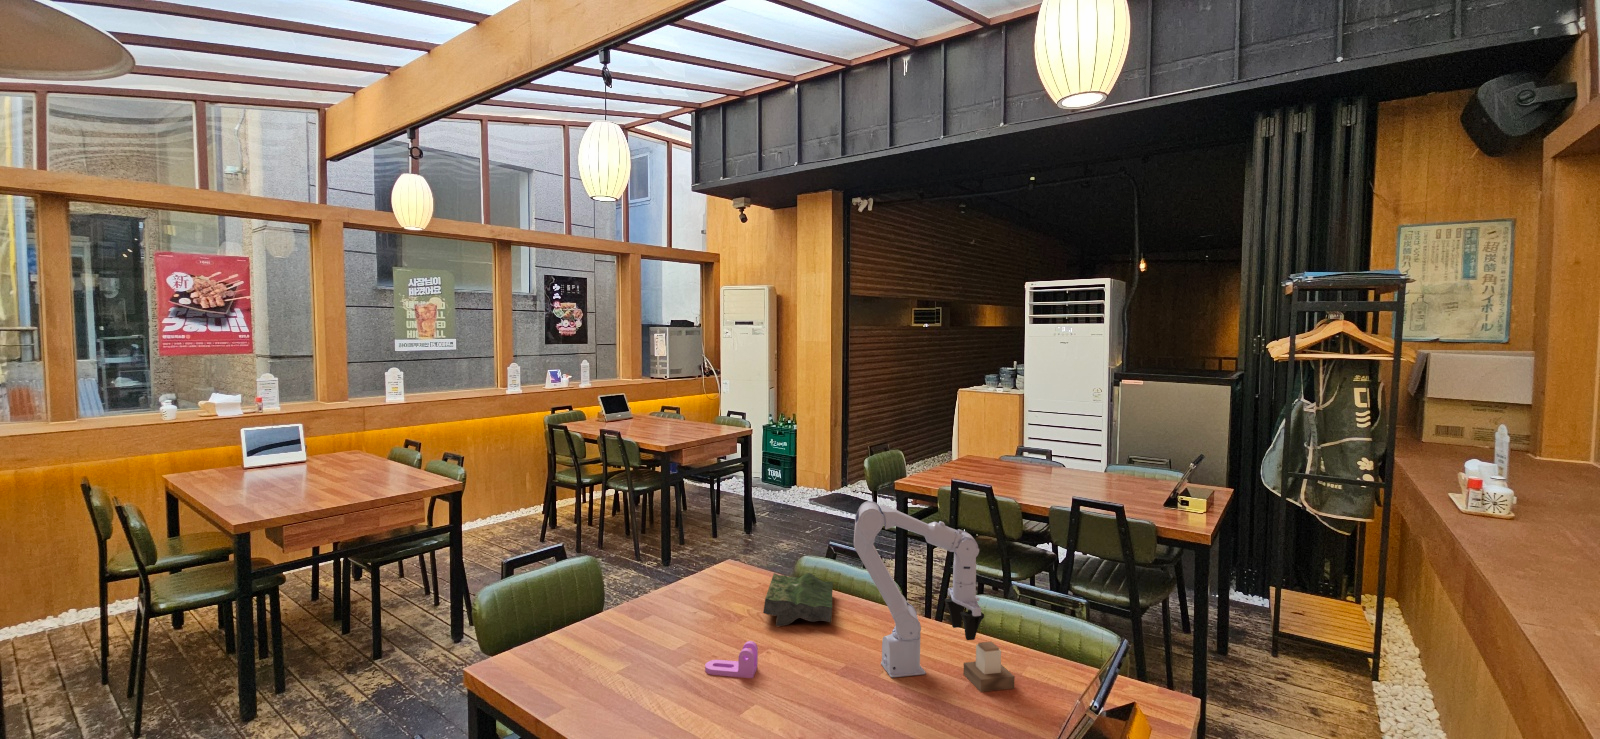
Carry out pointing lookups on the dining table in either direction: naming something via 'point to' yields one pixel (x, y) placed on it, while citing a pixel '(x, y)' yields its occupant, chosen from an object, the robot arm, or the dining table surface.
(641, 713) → the dining table surface
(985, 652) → the cream cardboard box
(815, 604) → the landscape model
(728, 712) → the dining table surface
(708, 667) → the bracket
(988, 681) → the block
